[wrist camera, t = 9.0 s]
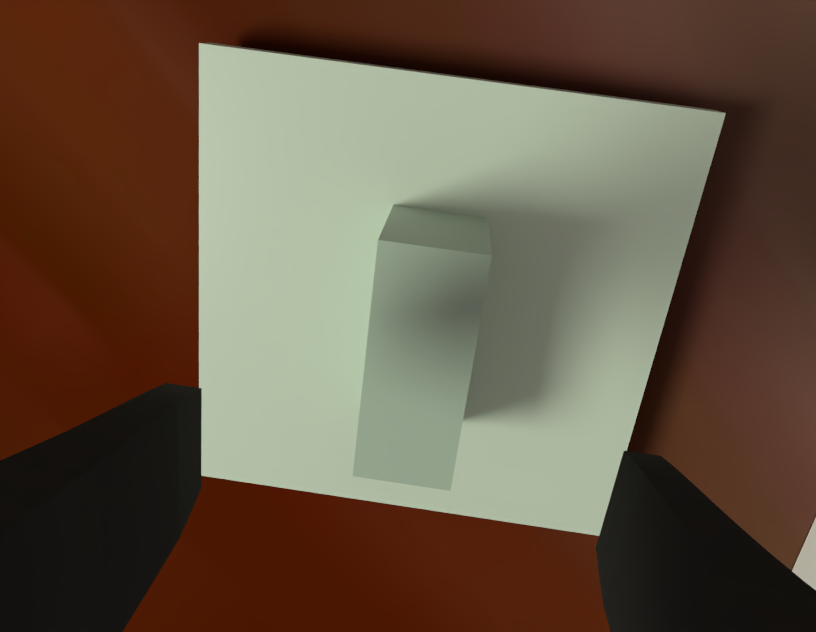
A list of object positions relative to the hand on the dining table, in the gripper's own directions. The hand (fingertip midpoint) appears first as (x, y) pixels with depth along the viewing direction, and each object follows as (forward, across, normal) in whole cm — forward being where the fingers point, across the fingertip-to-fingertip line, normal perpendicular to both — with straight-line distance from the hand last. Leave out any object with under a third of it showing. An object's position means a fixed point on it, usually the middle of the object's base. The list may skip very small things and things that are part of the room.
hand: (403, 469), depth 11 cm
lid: (+8, 0, 0) cm, 8 cm away
